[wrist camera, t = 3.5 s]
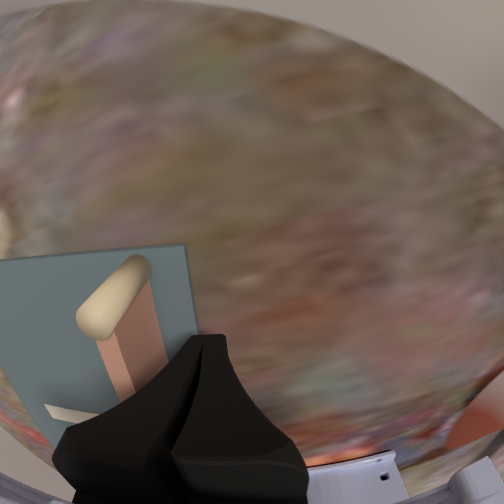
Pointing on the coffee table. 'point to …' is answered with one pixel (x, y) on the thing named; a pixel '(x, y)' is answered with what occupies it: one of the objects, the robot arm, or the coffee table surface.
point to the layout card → (69, 334)
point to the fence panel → (126, 326)
